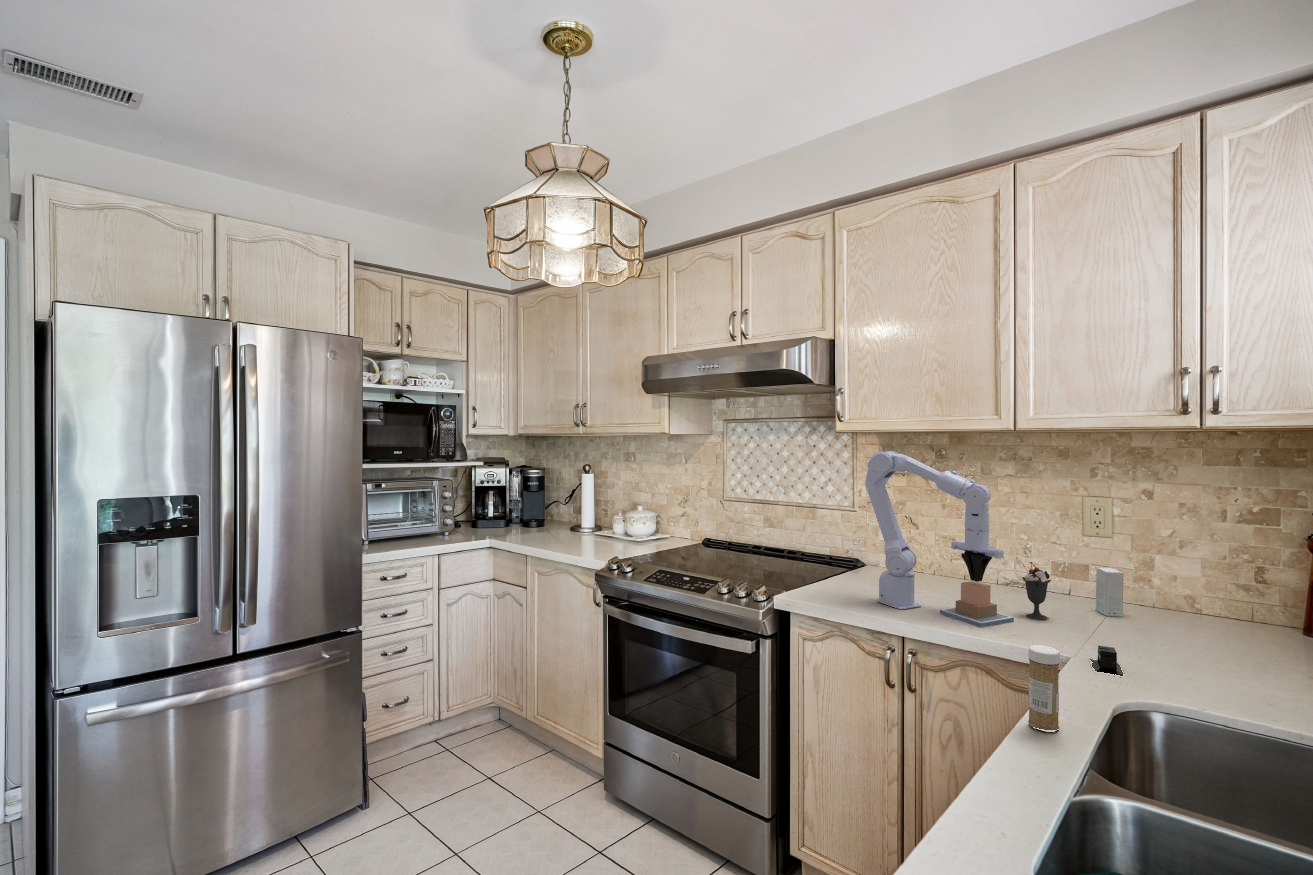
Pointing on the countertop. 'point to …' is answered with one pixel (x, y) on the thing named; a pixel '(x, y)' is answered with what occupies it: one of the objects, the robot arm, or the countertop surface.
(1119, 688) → the countertop surface
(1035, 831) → the countertop surface
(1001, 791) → the countertop surface
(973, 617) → the blueprint board
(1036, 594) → the sundae
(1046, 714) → the sprinkles bottle
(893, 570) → the robot arm
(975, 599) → the terracotta block
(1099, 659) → the black blocky piece
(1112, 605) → the skincare box
